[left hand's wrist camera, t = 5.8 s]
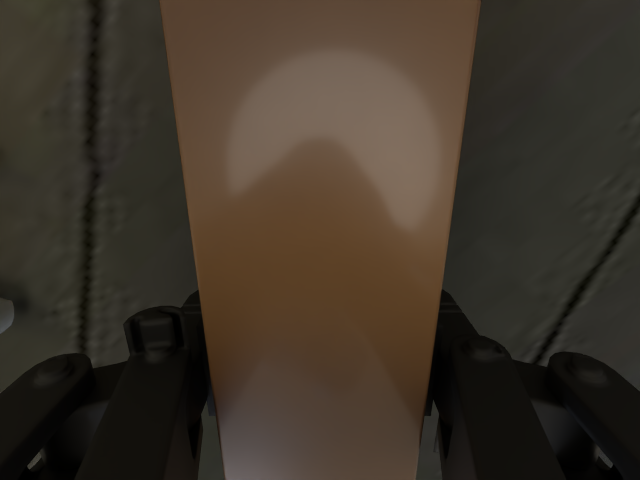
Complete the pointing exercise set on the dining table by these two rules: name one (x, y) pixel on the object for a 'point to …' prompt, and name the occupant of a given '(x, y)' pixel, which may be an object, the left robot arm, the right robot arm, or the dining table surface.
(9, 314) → the clamp
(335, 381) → the bar
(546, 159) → the dining table surface
